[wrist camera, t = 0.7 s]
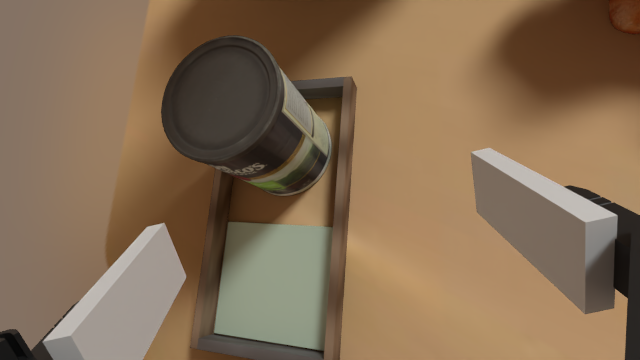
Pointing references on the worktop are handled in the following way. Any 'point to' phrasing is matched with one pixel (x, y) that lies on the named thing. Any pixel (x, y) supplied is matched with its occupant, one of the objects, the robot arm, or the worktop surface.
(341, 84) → the wooden serving tray
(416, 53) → the worktop surface
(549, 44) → the worktop surface
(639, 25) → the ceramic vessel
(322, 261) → the pad
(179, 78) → the coffee can
